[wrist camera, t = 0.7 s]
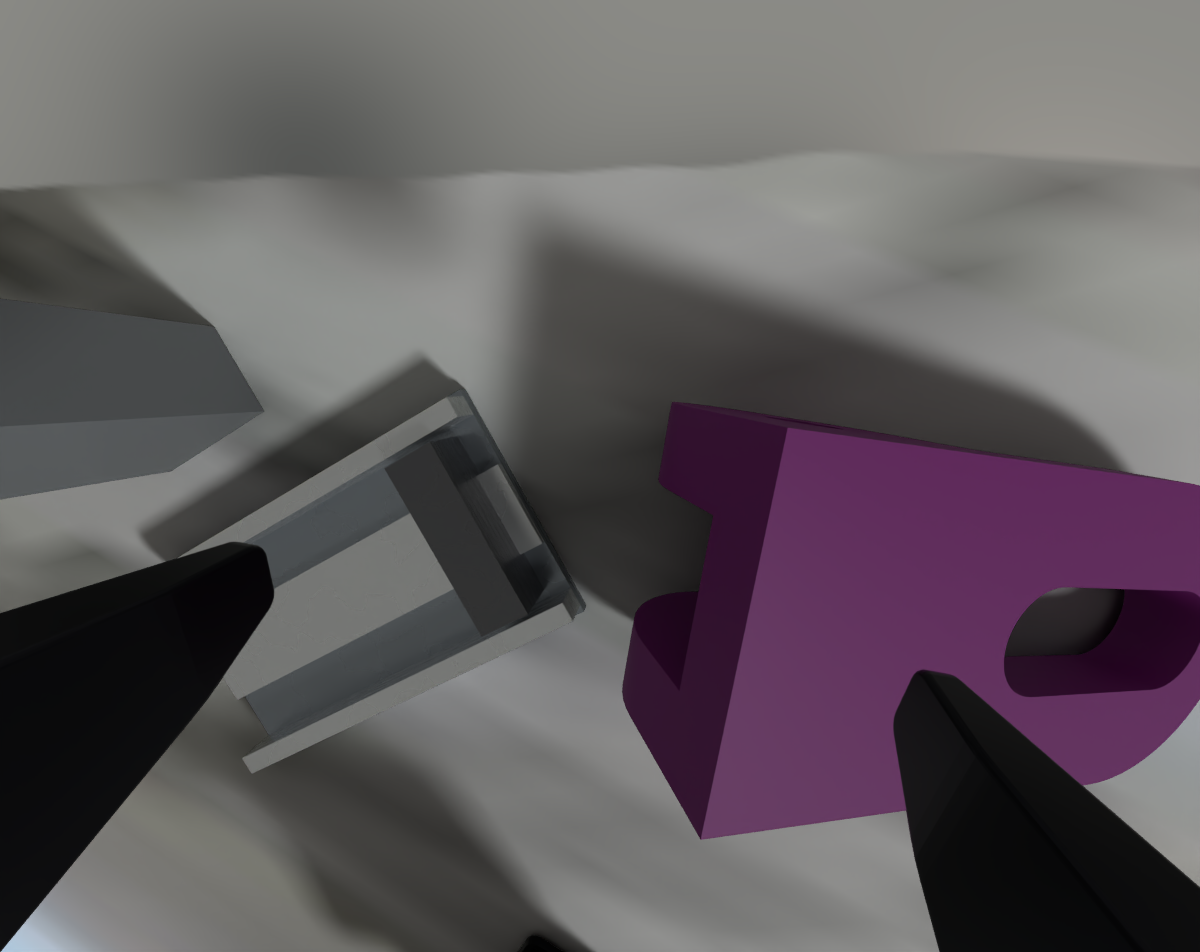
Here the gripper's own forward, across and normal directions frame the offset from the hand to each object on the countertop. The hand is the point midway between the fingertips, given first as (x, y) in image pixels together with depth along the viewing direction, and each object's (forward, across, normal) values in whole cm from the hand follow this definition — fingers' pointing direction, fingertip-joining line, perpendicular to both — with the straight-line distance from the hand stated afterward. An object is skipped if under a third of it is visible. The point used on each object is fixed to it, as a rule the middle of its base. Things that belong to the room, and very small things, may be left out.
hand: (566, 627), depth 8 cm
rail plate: (+12, +11, +10) cm, 19 cm away
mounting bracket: (+14, -10, +6) cm, 18 cm away
